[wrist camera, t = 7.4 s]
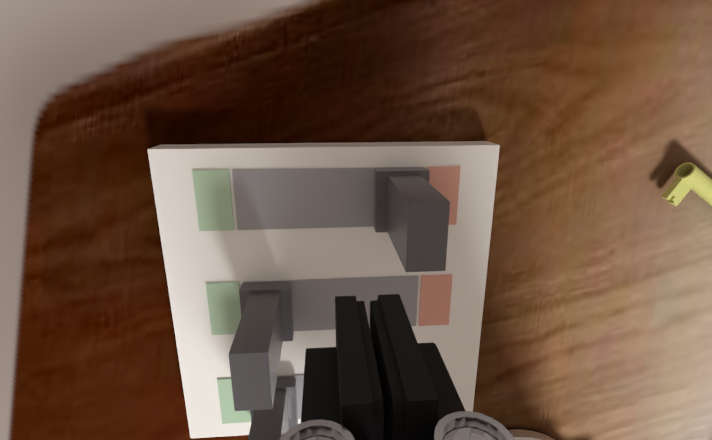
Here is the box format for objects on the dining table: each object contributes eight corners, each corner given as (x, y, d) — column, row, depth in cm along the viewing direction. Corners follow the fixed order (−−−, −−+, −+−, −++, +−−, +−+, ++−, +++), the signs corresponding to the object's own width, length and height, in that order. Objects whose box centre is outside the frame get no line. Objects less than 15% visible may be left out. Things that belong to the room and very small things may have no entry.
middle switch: (291, 282, 26) (281, 347, 19) (293, 333, 27) (285, 411, 21) (241, 284, 26) (214, 350, 19) (246, 335, 27) (222, 415, 20)
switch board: (487, 141, 27) (500, 145, 25) (462, 401, 33) (472, 422, 31) (160, 144, 25) (146, 149, 23) (198, 416, 31) (190, 439, 29)
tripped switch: (426, 167, 24) (464, 197, 18) (423, 226, 25) (458, 274, 19) (374, 168, 24) (394, 198, 18) (374, 228, 25) (392, 276, 19)
